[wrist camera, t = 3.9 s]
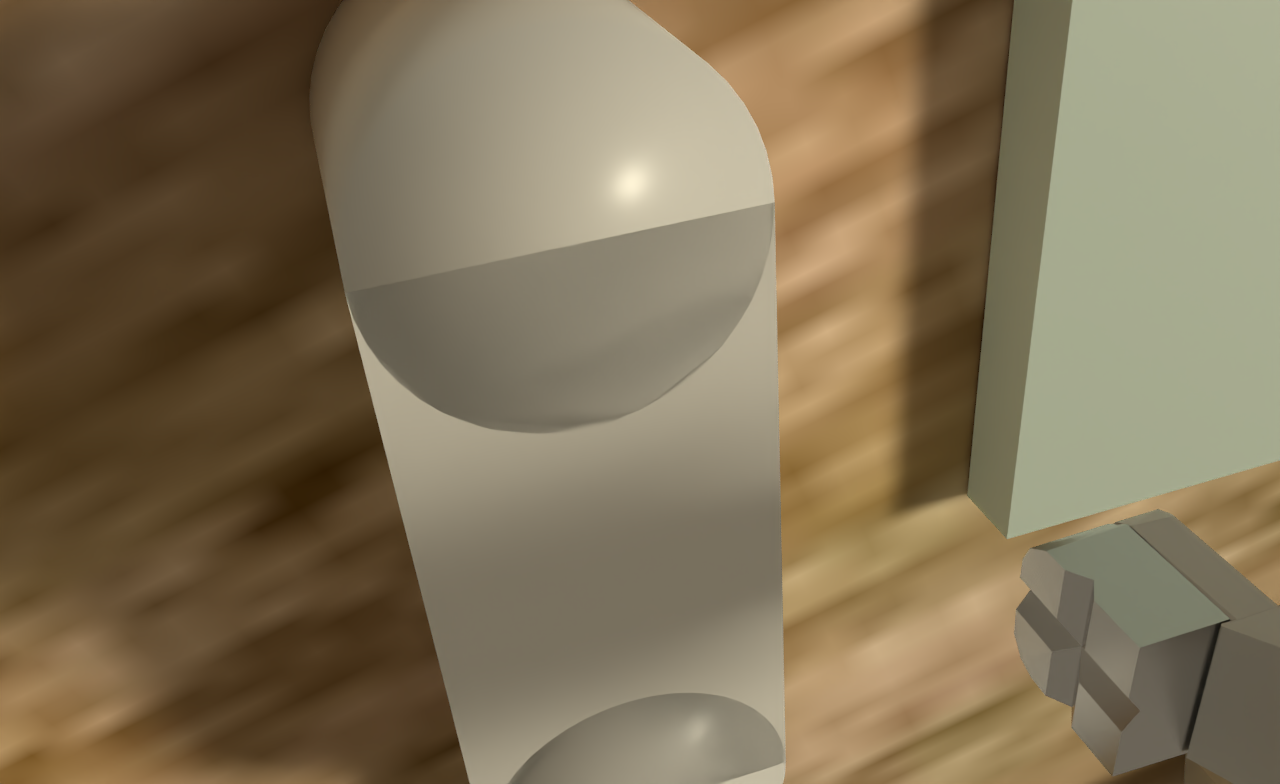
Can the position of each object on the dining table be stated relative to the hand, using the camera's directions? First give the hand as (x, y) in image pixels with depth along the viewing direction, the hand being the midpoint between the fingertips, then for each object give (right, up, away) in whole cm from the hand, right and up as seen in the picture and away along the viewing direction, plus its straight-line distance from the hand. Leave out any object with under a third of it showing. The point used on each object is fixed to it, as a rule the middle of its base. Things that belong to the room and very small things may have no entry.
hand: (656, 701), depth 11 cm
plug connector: (-2, +2, +5) cm, 6 cm away
